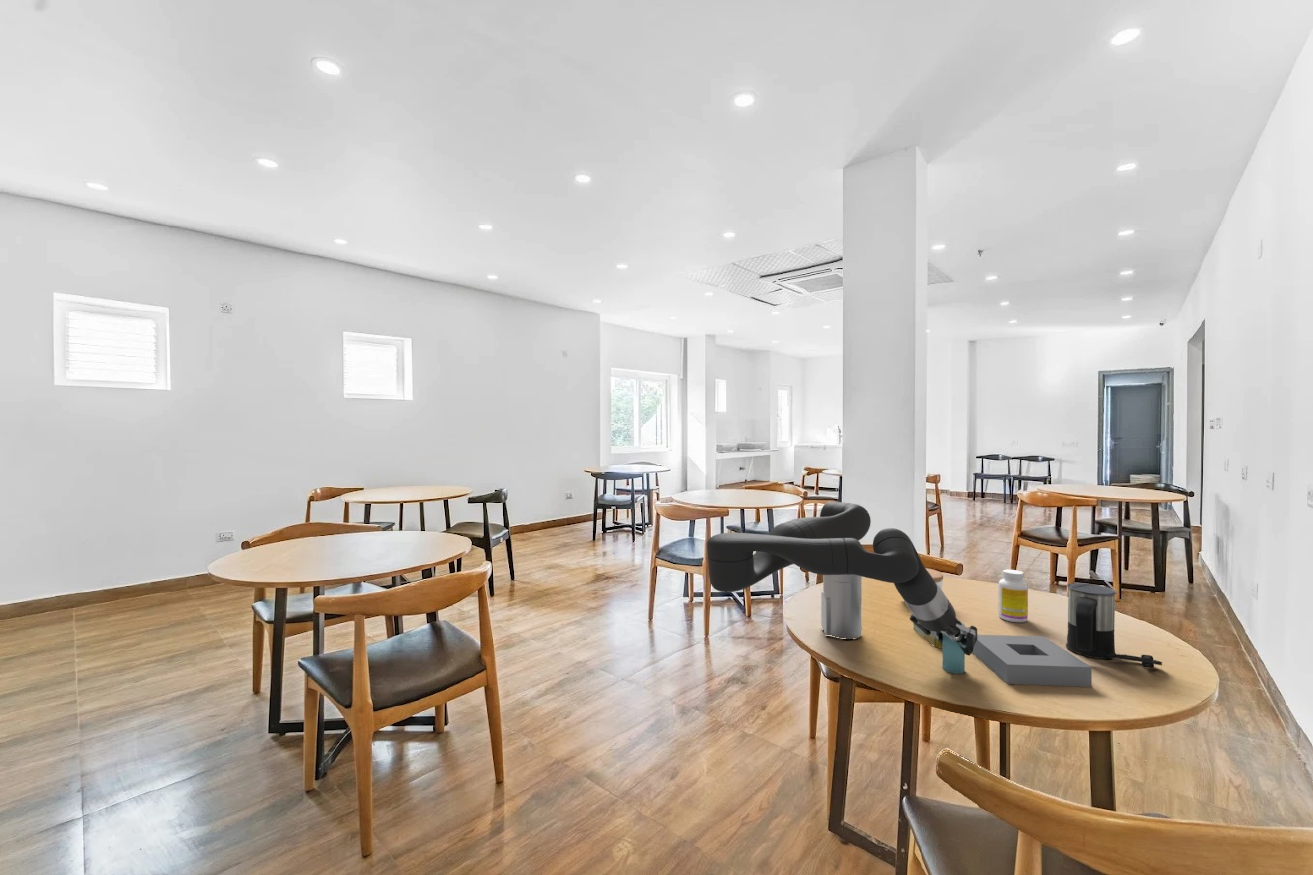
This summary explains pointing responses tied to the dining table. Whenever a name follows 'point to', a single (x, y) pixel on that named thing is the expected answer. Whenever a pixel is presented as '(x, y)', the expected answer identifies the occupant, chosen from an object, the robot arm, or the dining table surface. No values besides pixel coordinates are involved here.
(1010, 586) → the supplement bottle
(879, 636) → the dining table surface
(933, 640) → the medication box
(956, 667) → the peg
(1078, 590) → the milk frother
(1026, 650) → the socket block
